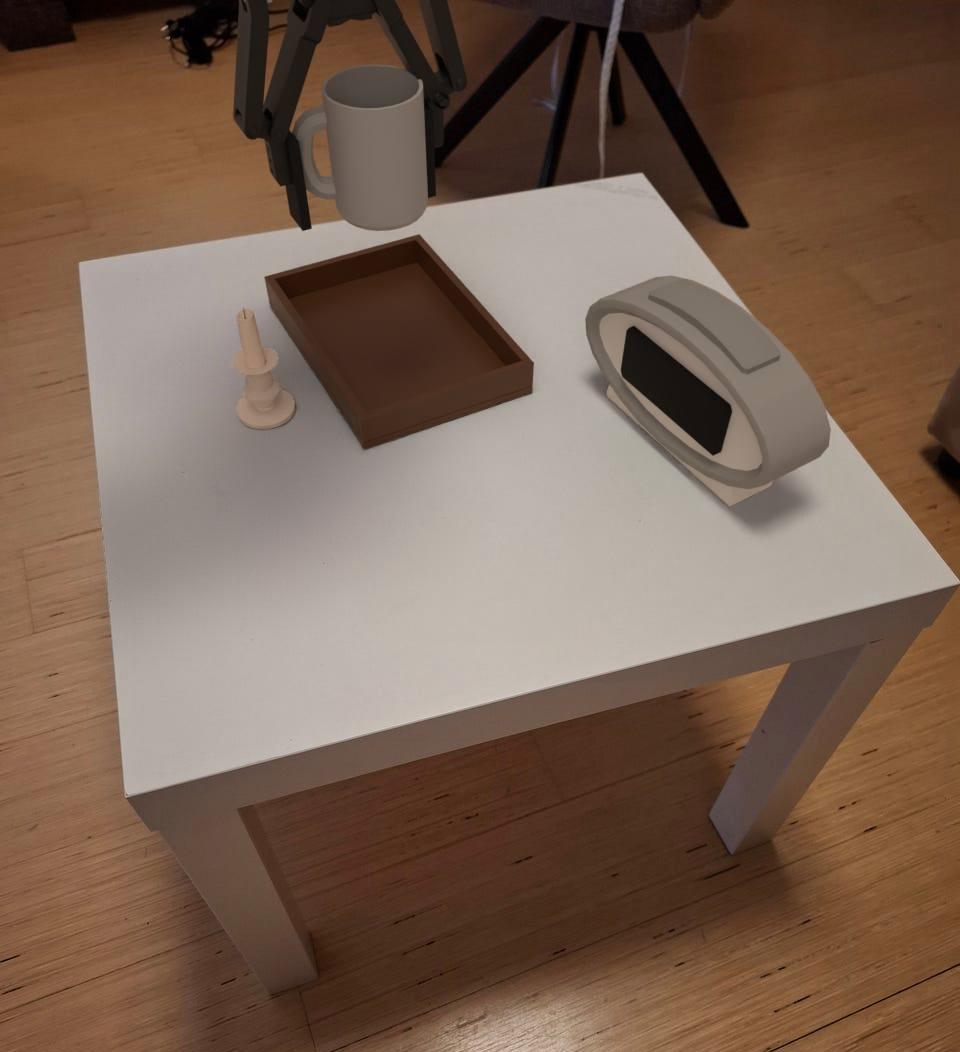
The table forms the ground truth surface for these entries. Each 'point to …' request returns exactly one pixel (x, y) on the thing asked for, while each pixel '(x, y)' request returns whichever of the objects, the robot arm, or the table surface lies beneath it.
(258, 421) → the candle
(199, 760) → the table surface
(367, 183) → the cup
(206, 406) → the table surface
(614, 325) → the alarm clock
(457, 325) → the tray
